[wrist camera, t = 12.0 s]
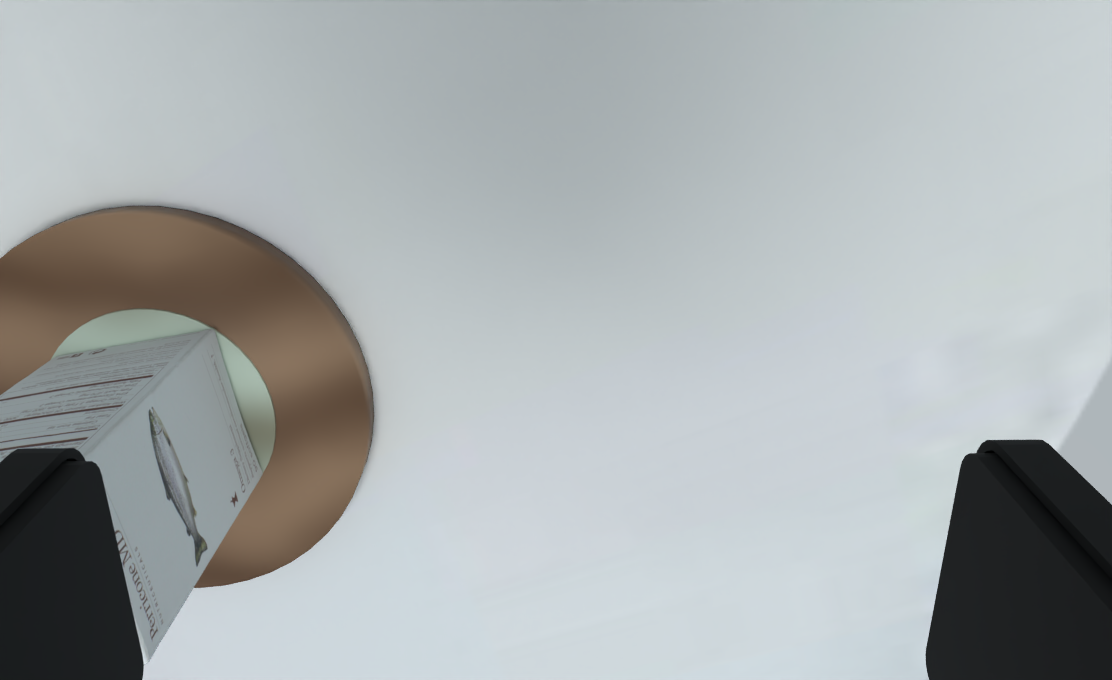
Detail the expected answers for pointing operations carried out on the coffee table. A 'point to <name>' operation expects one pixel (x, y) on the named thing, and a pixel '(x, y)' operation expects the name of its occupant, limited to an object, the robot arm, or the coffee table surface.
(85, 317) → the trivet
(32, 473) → the robot arm
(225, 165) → the coffee table surface
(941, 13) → the coffee table surface
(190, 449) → the supplement box
